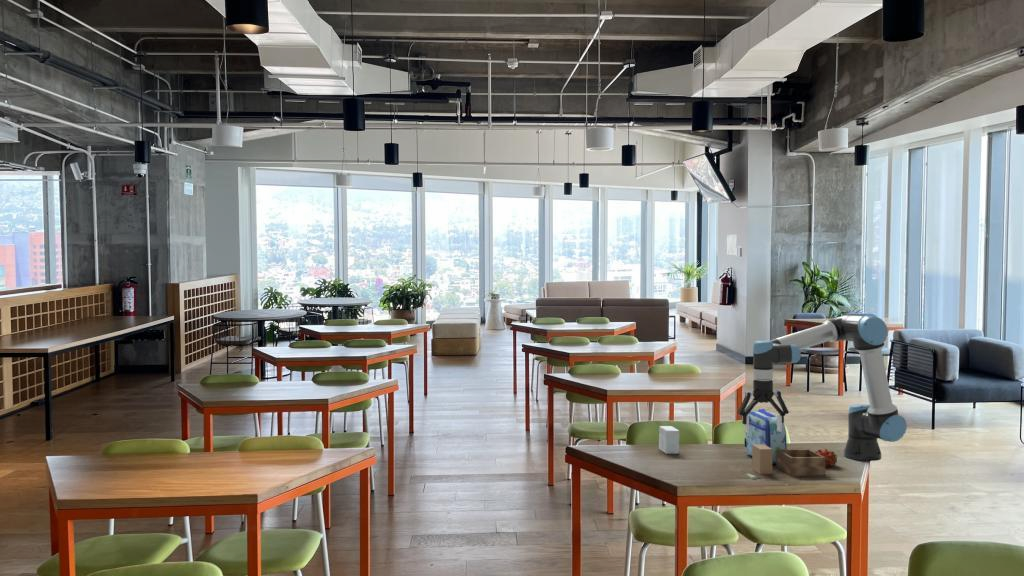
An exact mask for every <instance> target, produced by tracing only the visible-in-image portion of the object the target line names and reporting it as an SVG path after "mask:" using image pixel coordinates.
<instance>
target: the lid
mask: <svg viewBox="0 0 1024 576" xmlns="http://www.w3.org/2000/svg"><path fill="white" fill-rule="evenodd" d="M751 457H752V458H751V461H752V463H751V469H752V470H753V471H754V472H756V473H758V474H759V475H773V464H772V449H771V448H770V447H768V446H766V445H752V456H751ZM741 473H742V474H744V475H745V476H747V477H748V478H750V479H751V480H762V479H763V478H762V477H760V476H756V475H752V474H750V473H748V472H745V471H742V470H741Z"/></svg>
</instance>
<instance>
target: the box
mask: <svg viewBox="0 0 1024 576" xmlns="http://www.w3.org/2000/svg"><path fill="white" fill-rule="evenodd" d="M816 452H817V451H814V450H812V449H810V448H805V449H804V448H801V449H800V448H799V449H798V448H797V449H793V448H792V449H784V450H777V458H776V464H775V465H776V466H775V467H776V468H778V469H779V470H781V471H783V472H784V473H786V474H788V475H789V476H791V477H795V476H797V477H798V476H800V477H801V476H826V468H825V457H823V456H822V455H820V454H818V453H816Z"/></svg>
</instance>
